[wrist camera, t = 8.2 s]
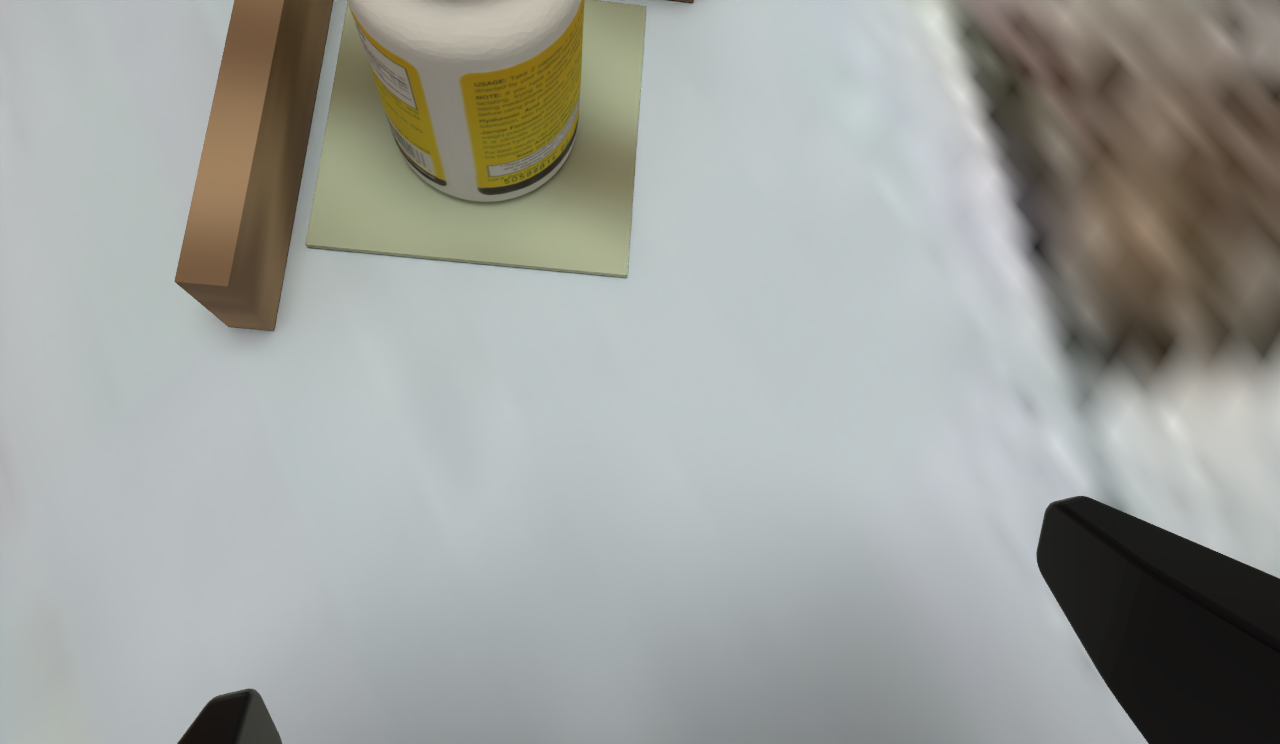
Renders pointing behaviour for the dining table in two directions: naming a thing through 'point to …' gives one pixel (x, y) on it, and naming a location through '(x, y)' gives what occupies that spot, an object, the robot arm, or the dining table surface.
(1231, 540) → the dining table surface
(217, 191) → the wooden corner bracket
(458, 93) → the supplement bottle
